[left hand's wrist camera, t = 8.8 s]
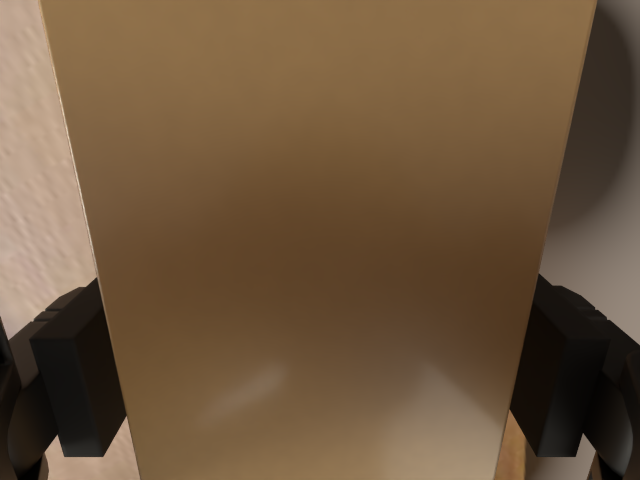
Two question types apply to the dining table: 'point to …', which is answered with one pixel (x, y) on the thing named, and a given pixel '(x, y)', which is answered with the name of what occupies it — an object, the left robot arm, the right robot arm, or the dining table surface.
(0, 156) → the dining table surface
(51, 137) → the dining table surface
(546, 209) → the bar
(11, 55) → the dining table surface
